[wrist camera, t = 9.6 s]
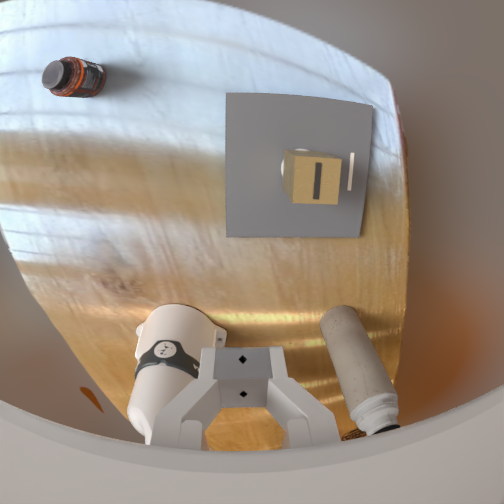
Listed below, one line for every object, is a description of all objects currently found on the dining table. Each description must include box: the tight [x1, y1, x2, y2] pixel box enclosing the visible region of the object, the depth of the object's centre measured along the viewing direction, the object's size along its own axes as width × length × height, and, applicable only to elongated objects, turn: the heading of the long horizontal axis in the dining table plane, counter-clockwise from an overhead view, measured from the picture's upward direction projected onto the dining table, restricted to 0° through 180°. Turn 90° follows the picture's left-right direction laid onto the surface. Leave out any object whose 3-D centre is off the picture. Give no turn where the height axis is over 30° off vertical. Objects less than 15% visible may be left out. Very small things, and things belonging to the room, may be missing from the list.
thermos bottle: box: [320, 306, 400, 436], centre depth 42 cm, size 8×8×28 cm
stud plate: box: [226, 93, 373, 238], centre depth 37 cm, size 22×22×10 cm
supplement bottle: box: [42, 57, 105, 98], centre depth 28 cm, size 6×6×11 cm
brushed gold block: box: [282, 150, 342, 205], centre depth 35 cm, size 6×6×8 cm
